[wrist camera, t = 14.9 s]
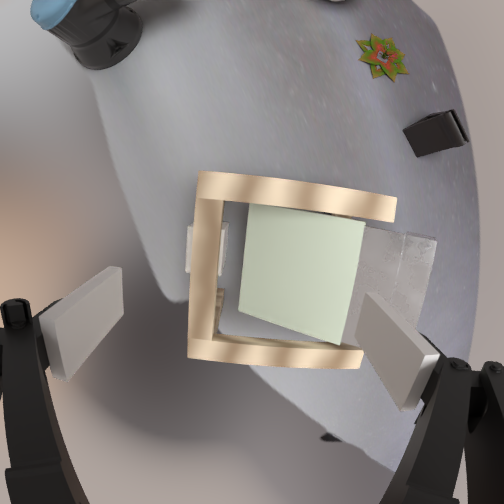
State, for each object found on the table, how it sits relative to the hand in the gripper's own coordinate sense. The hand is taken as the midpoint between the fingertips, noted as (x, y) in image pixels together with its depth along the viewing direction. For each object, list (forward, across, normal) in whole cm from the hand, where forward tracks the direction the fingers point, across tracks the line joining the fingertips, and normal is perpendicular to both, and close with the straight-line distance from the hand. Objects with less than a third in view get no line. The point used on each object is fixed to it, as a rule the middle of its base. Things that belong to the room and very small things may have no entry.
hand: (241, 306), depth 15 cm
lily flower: (+39, +23, +36) cm, 58 cm away
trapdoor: (+25, +14, -5) cm, 29 cm away
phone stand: (+38, +33, +21) cm, 55 cm away
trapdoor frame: (+38, +6, -5) cm, 38 cm away
